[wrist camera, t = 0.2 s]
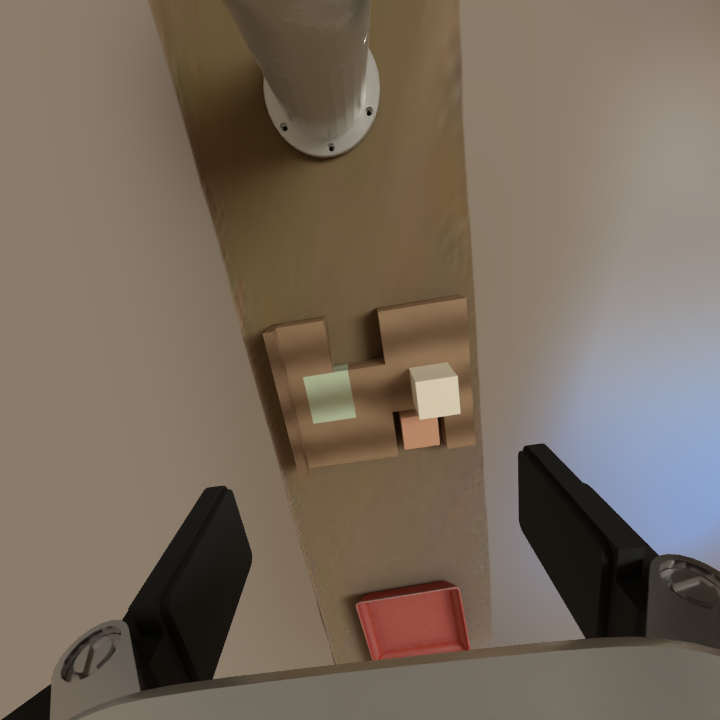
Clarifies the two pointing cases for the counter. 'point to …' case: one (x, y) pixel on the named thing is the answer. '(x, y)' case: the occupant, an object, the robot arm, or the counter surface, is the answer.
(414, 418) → the salmon block
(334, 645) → the counter surface
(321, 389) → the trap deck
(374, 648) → the plant saucer
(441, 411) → the cream cube
